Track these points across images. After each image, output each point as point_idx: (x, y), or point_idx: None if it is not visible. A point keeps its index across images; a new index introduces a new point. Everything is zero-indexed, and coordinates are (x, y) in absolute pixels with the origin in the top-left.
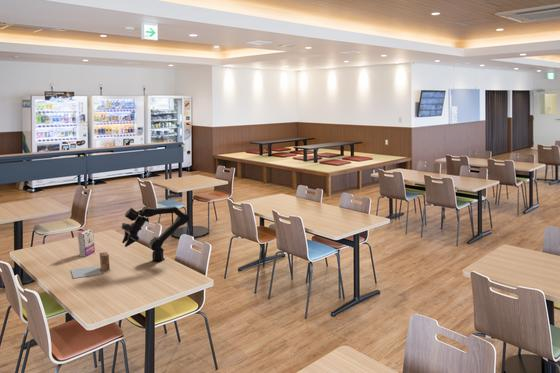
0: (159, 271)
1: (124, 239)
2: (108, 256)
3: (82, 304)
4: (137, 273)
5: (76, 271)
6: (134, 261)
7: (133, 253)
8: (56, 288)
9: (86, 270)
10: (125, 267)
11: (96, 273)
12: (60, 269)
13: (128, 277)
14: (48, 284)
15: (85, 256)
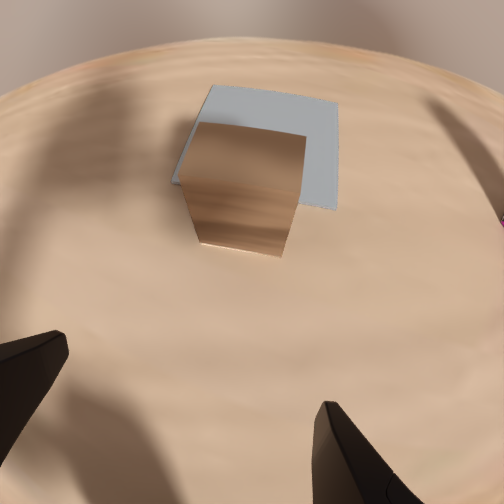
0: None
1: (332, 465)
2: (181, 180)
3: (9, 105)
4: None
5: (298, 108)
6: (272, 463)
7: (440, 481)
8: (162, 52)
9: None
10: (177, 355)
11: None
12: (372, 91)
13: (20, 282)
14: (220, 42)
15: (501, 220)
